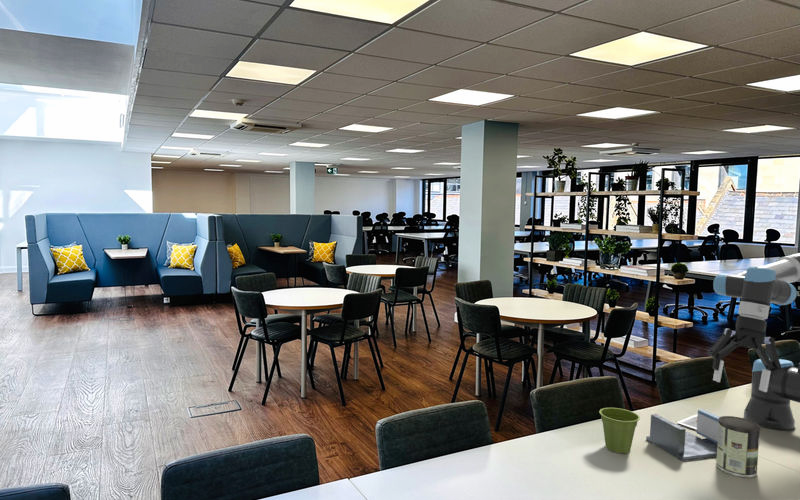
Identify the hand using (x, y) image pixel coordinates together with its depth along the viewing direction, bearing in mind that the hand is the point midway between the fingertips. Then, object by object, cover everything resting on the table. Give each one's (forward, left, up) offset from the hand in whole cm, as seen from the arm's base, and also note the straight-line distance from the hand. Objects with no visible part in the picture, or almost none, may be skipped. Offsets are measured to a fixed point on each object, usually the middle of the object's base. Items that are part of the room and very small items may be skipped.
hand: (739, 386), depth 154 cm
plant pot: (+31, -14, -23) cm, 41 cm away
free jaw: (-5, -10, -21) cm, 24 cm away
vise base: (+3, -10, -23) cm, 25 cm away
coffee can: (+5, +5, -23) cm, 24 cm away
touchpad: (-12, -25, -24) cm, 37 cm away
